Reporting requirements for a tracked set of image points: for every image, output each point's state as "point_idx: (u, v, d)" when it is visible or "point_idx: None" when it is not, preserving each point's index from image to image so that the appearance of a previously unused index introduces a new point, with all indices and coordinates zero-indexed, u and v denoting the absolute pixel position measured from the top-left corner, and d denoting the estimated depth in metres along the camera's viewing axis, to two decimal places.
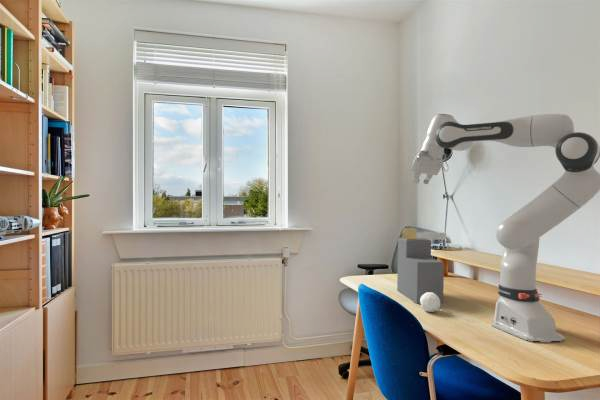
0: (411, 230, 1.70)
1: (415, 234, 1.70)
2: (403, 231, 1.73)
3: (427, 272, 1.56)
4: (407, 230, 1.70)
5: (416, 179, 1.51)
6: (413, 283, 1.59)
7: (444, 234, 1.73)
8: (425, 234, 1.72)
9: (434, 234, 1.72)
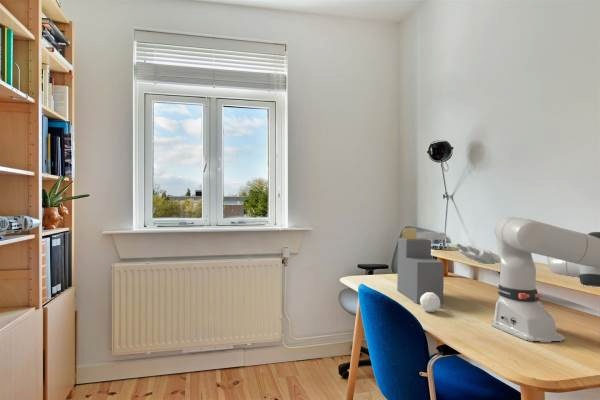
0: (411, 230, 1.70)
1: (415, 234, 1.70)
2: (403, 231, 1.73)
3: (427, 272, 1.56)
4: (407, 230, 1.70)
5: (471, 249, 1.70)
6: (413, 283, 1.59)
7: (444, 234, 1.73)
8: (425, 234, 1.72)
9: (434, 234, 1.72)
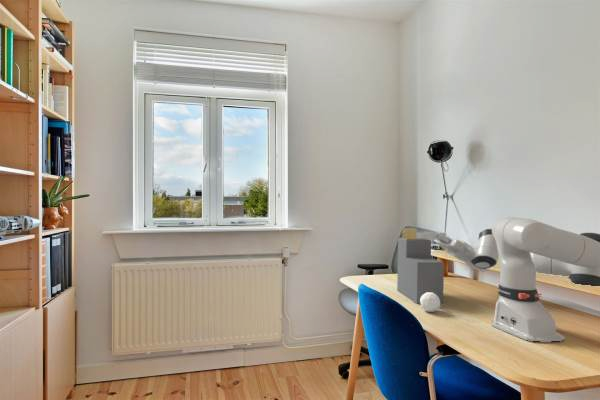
0: (411, 230, 1.70)
1: (415, 234, 1.70)
2: (403, 231, 1.73)
3: (427, 272, 1.56)
4: (407, 230, 1.70)
5: (442, 237, 1.71)
6: (413, 283, 1.59)
7: (444, 234, 1.73)
8: (425, 234, 1.72)
9: (434, 234, 1.72)
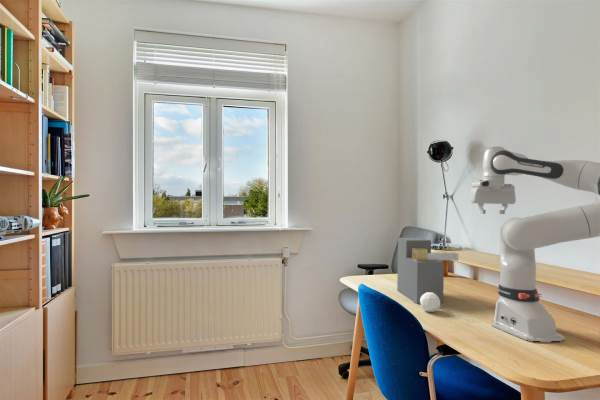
0: (422, 250, 1.59)
1: (426, 255, 1.59)
2: (413, 251, 1.62)
3: (427, 272, 1.56)
4: (417, 250, 1.59)
5: None
6: (413, 283, 1.59)
7: (457, 254, 1.62)
8: (436, 254, 1.61)
9: (446, 254, 1.61)
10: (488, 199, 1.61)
